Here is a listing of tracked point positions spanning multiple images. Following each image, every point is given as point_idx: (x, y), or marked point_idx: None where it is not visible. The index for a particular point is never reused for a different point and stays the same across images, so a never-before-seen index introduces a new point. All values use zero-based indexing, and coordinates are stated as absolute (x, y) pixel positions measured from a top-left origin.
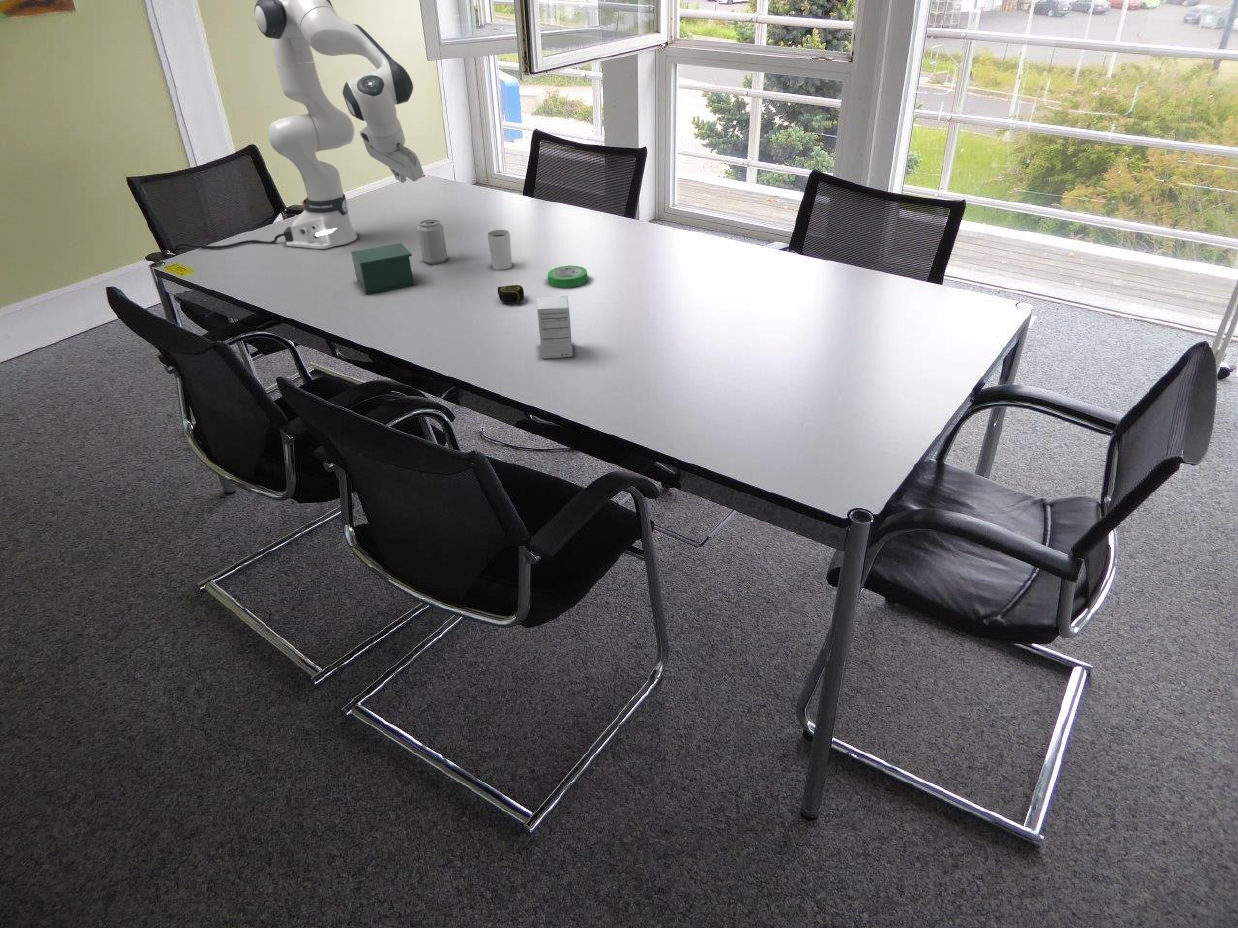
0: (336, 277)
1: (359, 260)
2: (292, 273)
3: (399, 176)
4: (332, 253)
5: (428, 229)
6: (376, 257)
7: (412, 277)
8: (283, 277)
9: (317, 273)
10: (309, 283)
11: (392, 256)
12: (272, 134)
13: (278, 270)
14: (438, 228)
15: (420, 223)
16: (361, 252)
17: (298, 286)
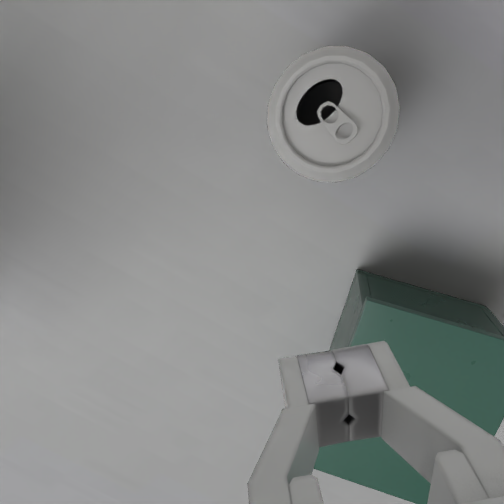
0: (228, 408)
1: (422, 501)
2: (117, 456)
3: (411, 458)
4: (30, 313)
5: (376, 153)
6: None
7: (495, 317)
8: (130, 482)
9: (161, 421)
10: (219, 470)
11: (494, 413)
12: None
13: (72, 463)
14: (396, 99)
15: (295, 152)
16: (344, 451)
17: (219, 495)
